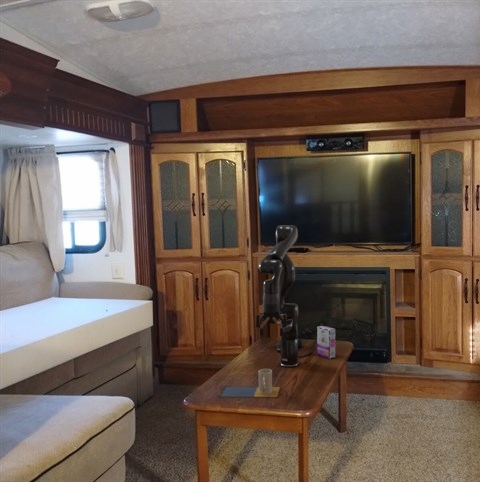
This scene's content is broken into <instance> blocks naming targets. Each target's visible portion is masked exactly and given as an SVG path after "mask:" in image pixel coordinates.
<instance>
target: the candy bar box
mask: <svg viewBox="0 0 480 482" xmlns="http://www.w3.org/2000/svg"><path fill="white" fill-rule="evenodd" d="M336 334H337V333H336V328H333V327H330V326H327V325H320V326H317V327H316V340H317V342H316V355H317V356H320V357H323V358H326V359H329V360H330V359H334V358H336V354H337V353H336V339H337V338H336V337H337V336H336Z"/></svg>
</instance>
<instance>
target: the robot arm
mask: <svg viewBox="0 0 480 482" xmlns="http://www.w3.org/2000/svg"><path fill="white" fill-rule="evenodd" d="M298 238H299V230H298V227H297V226H296V225H293V224H291V225H290V224H289V225H288V224H283V225H282V224H280V225H277V227H276V229H275V241H276V244H275V245H274V246H273V247H272V248H271V249H270V252H269V253H268V254H267V255H266V256H265V257H263V258H262V259H261V261H260V262H259V265H258V270H259V272H260V273H261V274H262V275H266V276H269V275H270V276H272V278H269V279H265V280H264V281H263V295H262V308H263V311H262V312H263V313H262V314H260V313H257V314H256V319H255V323H256V324H255V327H256V328H258V329H260V330H259V334H260V336H261V337H264V336H265V328H264V327H265V326H266V325H267V324H268V325H269V324H272V325H275V324H276V325H277V326H278V327H279V337H280V339H281V351H280V366H281V367H285V368H293V367H298V365H299V358H305V357H308V356H309V355H311V354H312V353H313V352H314V344H315V343H317V339H316V340H314V341H313V342H312V344H311V351H310V352H308V353H306V354H305V355H299V347H298V339H299V306H298V303H295V302H294V303H293V302H285V300H286V296H287V295H288V292H289V291H290V289H291V288H292V286H293V285H294V282H295V280H296V267H295V264H294V262H293V260H292V259H291V258H290V256H289V254H288V251H289V250H290V249H291V248H292V247H293V246H294V245H295V243H296V242H297V240H298ZM261 319H263V320H264V321H262V323H261V324H260V321H261ZM281 321H283V323H282V322H281ZM288 322H291V323H289V324H288Z"/></svg>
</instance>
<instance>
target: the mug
mask: <svg viewBox="0 0 480 482" xmlns="http://www.w3.org/2000/svg"><path fill="white" fill-rule="evenodd" d="M257 372H258V373H257V375H258V377H257V378H258V379H257V380H258V387H259V393H260V394H270V393H271V392H272V387H273V370H272V369H271V368H262V369H258V371H257Z"/></svg>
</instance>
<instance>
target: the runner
mask: <svg viewBox="0 0 480 482" xmlns="http://www.w3.org/2000/svg"><path fill="white" fill-rule="evenodd" d="M280 388H281V387H280V386H272V392H271V393H270V394H260V393H259V386H225V388H224V390H223V392H222V394H221V395H220V397H221V398H222V397H224V398H233V397H234V398H249V397H250V398H269V397H270V398H277V397H278V396H279V393H280Z"/></svg>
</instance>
